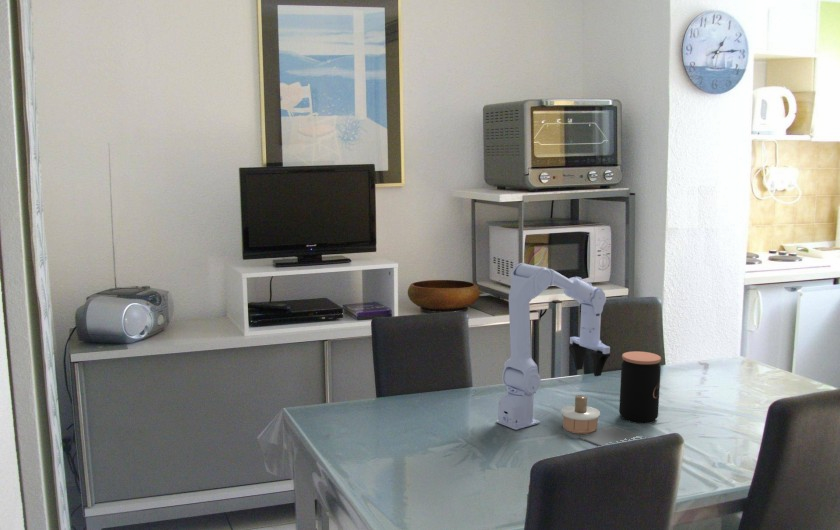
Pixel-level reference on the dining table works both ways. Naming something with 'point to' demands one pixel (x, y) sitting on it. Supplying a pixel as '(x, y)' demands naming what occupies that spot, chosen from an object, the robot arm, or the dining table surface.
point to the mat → (608, 436)
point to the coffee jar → (640, 387)
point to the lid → (580, 410)
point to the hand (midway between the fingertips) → (588, 372)
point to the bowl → (580, 426)
